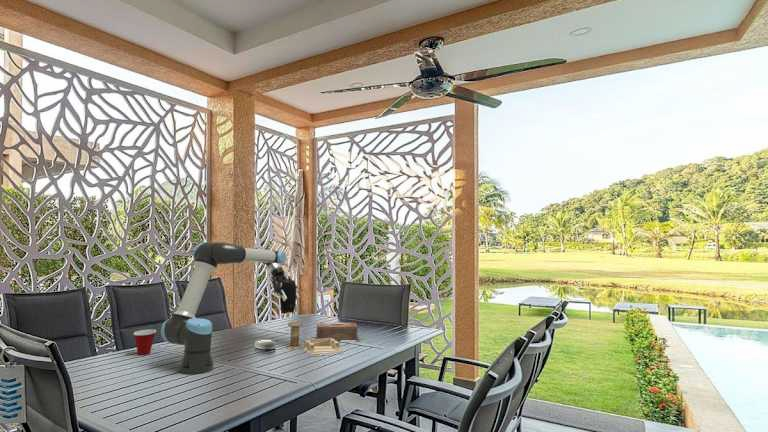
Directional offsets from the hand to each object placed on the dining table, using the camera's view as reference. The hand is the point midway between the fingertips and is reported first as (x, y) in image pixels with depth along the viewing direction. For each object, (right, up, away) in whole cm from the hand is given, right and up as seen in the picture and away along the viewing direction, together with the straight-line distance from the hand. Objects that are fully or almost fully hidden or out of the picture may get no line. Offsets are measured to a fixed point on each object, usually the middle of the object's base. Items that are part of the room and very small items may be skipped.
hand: (291, 298), depth 252 cm
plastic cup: (-74, -24, -28) cm, 83 cm away
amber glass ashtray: (+21, -28, -13) cm, 37 cm away
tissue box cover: (+25, -31, +19) cm, 44 cm away
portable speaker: (-3, -9, +1) cm, 9 cm away
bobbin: (+3, -28, -6) cm, 29 cm away
